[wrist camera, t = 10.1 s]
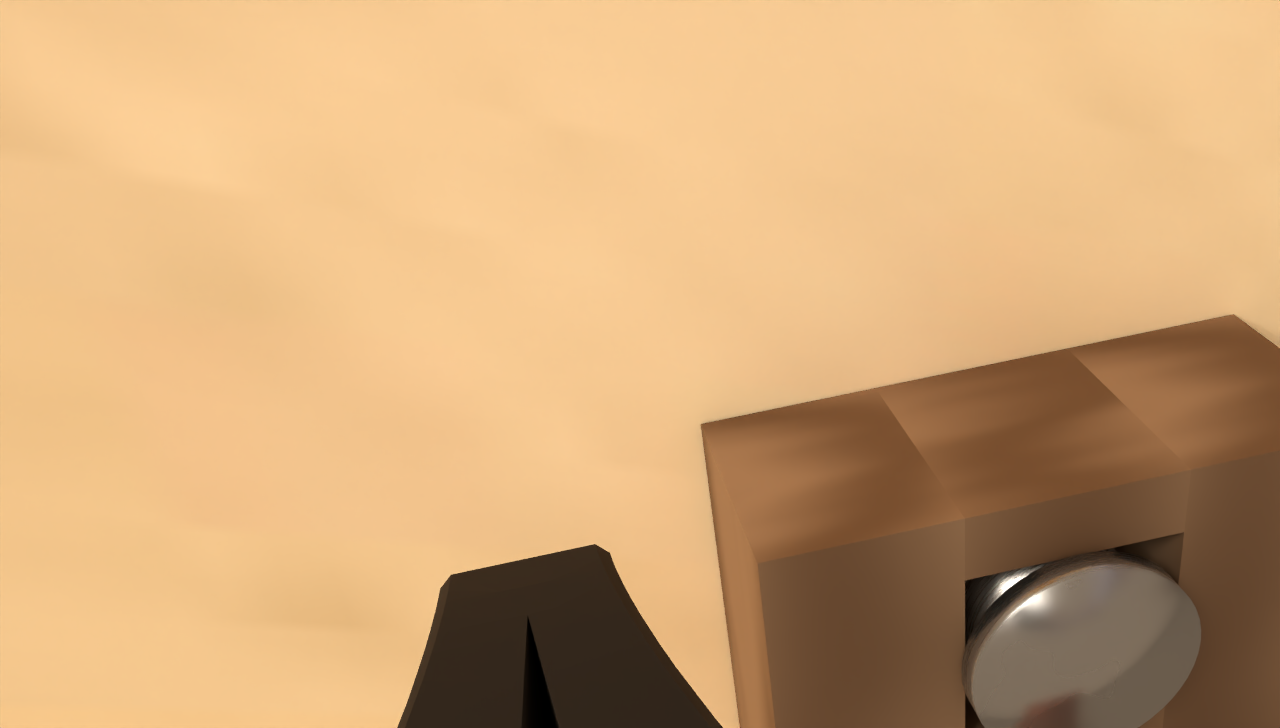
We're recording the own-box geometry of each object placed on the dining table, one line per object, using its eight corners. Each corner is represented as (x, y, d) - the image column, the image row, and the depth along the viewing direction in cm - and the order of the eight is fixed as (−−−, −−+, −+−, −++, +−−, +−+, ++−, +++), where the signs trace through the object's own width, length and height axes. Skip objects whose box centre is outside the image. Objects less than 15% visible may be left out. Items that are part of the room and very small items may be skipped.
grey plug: (1085, 415, 22) (1213, 548, 18) (1075, 577, 24) (1190, 726, 20) (883, 458, 22) (973, 601, 18) (890, 618, 24) (973, 777, 20)
